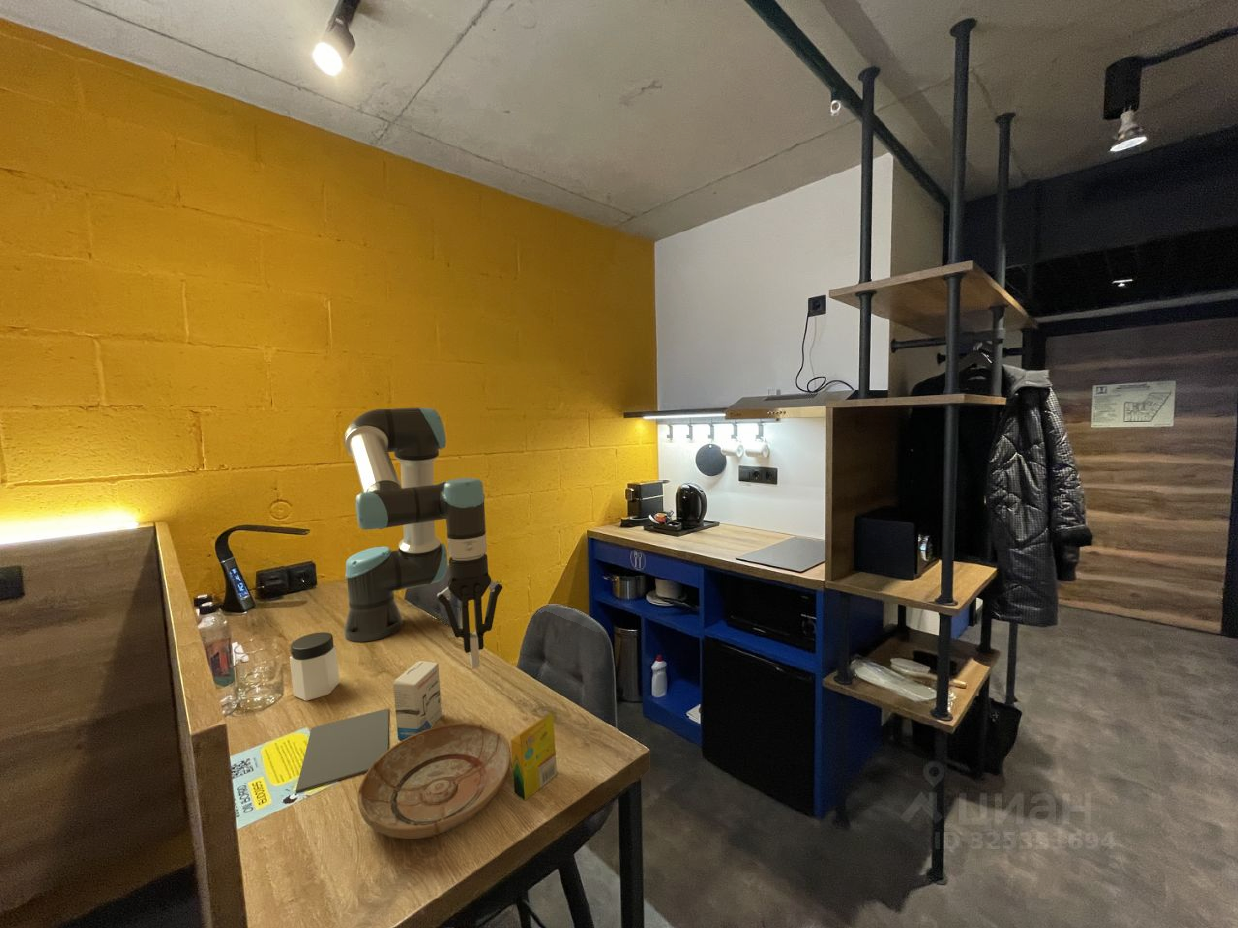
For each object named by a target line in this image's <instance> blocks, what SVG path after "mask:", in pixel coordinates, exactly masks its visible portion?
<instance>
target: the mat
mask: <svg viewBox="0 0 1238 928" xmlns="http://www.w3.org/2000/svg"><path fill="white" fill-rule="evenodd" d="M388 750H389V708H385V709H384V708H383V709H380V710H376V711H371V712H369V713H364V714H360V715H357V716H352V717H349V718H343V719H341V720H337V721H333V722H328V723H324V724H320V725H316V726H313V727H311V729H310V732H309V737H308V741H307V744H306V748H305V752H304V756H303V761H302V765H301V766H300V767H301V768H300V771H299V772H300V773H299V776H298V779H297V784H296V788H295V794H296V793H300V792H302V791H303V792H304V791H307V790H310V789H313V788H317V787H320V786H323V785H327V784H330V783H333V782H338V781H341V780H344V779H347V778H351V777H354V776H357V775H361V774H363V773H365V774H366V773H367V772H368V770H369V769H370V767H371V766H372V765H373V764H374V763H375V762H376V761H377V760H378V759H379V758H380V757H381V756H382V755H383V754H384V753H385V752H387V751H388Z"/></svg>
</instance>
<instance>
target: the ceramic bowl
mask: <svg viewBox="0 0 1238 928" xmlns="http://www.w3.org/2000/svg"><path fill="white" fill-rule="evenodd" d="M510 747H511V746H510V744H509V742H508V740H507V739H506V737H504V735H502V734H501V733H499V732H498V731H497V730H495V729H494V728H492V727H489V726H486V725H484V724H483V725H482V724H480V723H470V722H458V723H456V722H455V723H449V724H442V725H438V726H433V727H432V728H430V729H427V730H425V731H422V732H419V733H417V734H414V735H412V736H410V737H408V738H406V739H404V740H401V741H399V742H398V743H397V744H394V745H393V746H392V747H390V748H388V751H387V752H385V753H384V754H383V755H382V756H381V757H380V758H379V759H378V760H377V761H376V762H375V763H374V764H373V765H372V766H371V767H370V769H369V770H368V772H365V774H364V776H363V778H362V781H361V783H360V785H359V787H358V792H357V804H358V810H359V813H360V815H361V817H362V819H363V820H364V821H365V823H366V824H367V825H368V826H369V827H371V828H372V829H373V830H375V831H376V832H378V833H380V834H382V835H385V836H387V837H390V838H395V839H403V840H404V839H406V840H407V839H408V840H413V839H423V838H425V839H426V838H429V837H434V836H437V835H442V834H443V833H445V832H449V831H451V830H453V829H456V828H457V827H459V826H462V825H463V824H465V823H467V822H469V821H470V820H471V819H473V818H474V817H477V816H478V815H479V814H480V813H481V812H483V811H484V810H485V809H487V807H488V806H489V805H490V804H491V803H492V802H493V801H494V800H495V799H496V797H497V796H498V795H499V793H500V792H501V790H502V789H503V788H504V785H505V784H506V781H507V779H508V776H509V774H510V773H509V772H510V768H511V761H512V760H511V759H512V753H511V748H510Z"/></svg>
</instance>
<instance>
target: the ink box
mask: <svg viewBox="0 0 1238 928" xmlns="http://www.w3.org/2000/svg"><path fill="white" fill-rule="evenodd" d="M392 687H393V688H392V689H393V700H394V709H395V722H396V730H397V732H396V733H397V740H401V741H403V740H404V739H406V738H408V737H410V736H412V735H414V734H417V733H419V732H422V731H425V730H427V729H430V728H433V727H434V725H435V724H436V723H437V722H438V721H439V720H440V719H441V718H442V717H443V710H442V708H443V707H442V695H441V681H440V667H439V663H438V662H429V661H422V660H421V661H420V660H419V661H417V662H416V663H414V664H413V665H411V667H409V668H408V669H407V670H406V671H404V672H403V673H402V674H401V675H399V676H398V677H397V678H396V679H394V682H393V683H392Z"/></svg>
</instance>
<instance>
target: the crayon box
mask: <svg viewBox="0 0 1238 928" xmlns="http://www.w3.org/2000/svg"><path fill="white" fill-rule="evenodd" d="M555 737H556V736H555V724H554V713H553V712H552V713H550V714H549V715H547V716H546V717H544V716H543V717H541V718H540V719H538V720H537V721H536V722H534V723H533V724H531V725H530V726H528V727H527V728H526V729H525V730H523V731H520V733H519V734H517V735H516V736H514V737H513V738H512V739H510V747H511V748H510V750H511V759H512V760H511V761H512V774H513V775H512V777H513V789H514V794H516V795H517V797H519V798H521V799H522V800H523V801H524V802H526V801H528V799H529V798H530V797H532V796H533V795H535V793H536V792H538V791H539V790H541V789H542V788H543V787H544V786H546V784H548V783H549V782H550V781H551V780H552V779H554V777H556V776H557V775H558V769H557V754H556V753H557V752H556V738H555Z"/></svg>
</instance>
